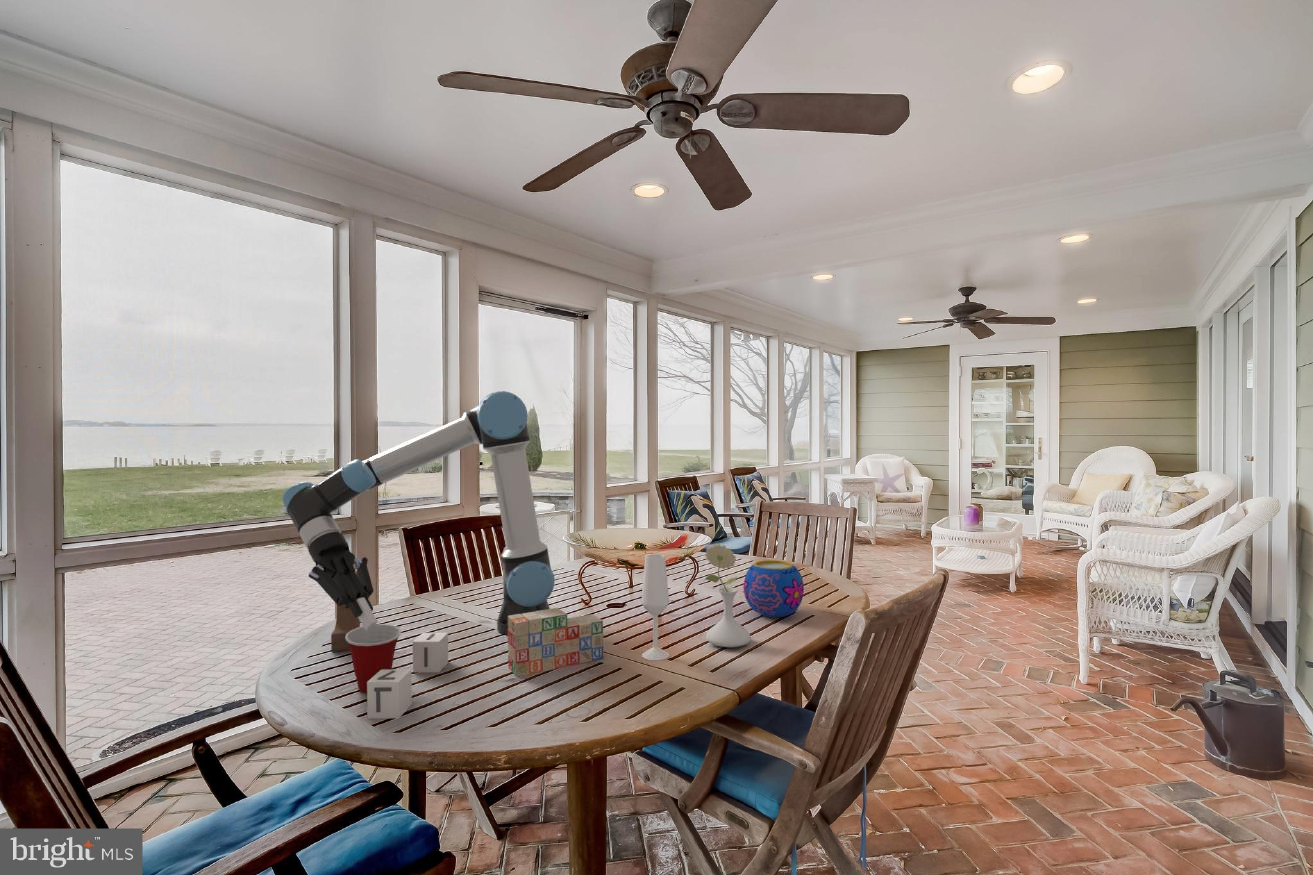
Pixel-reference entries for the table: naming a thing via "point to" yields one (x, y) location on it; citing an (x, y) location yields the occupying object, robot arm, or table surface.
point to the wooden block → (343, 628)
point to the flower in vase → (725, 602)
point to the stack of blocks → (552, 640)
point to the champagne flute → (655, 598)
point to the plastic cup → (372, 651)
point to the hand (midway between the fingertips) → (371, 626)
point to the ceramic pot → (773, 588)
